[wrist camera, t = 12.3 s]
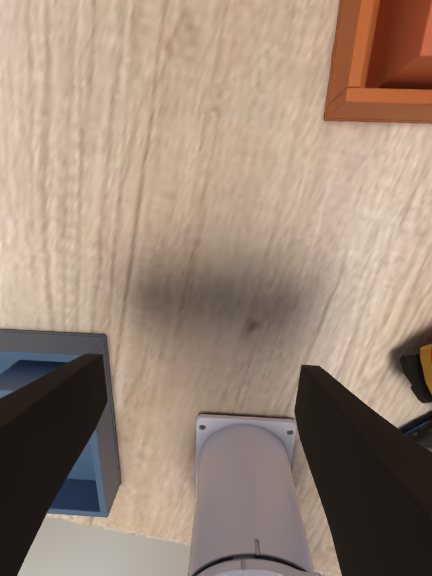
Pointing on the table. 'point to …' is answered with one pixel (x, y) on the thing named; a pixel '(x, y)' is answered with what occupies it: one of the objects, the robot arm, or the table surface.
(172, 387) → the table surface
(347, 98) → the orange tray
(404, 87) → the terracotta block
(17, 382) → the blue block
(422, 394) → the figurine
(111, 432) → the blue tray
